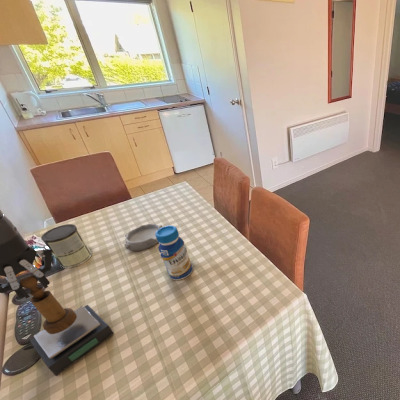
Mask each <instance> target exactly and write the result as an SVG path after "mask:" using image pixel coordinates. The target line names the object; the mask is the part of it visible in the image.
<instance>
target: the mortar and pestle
mask: <svg viewBox="0 0 400 400" xmlns="http://www.w3.org/2000/svg"><path fill="white" fill-rule="evenodd" d="M38 282H39V281H38V279H37V278H36V277H35V275H34V274H29V275H25V276H23V277H21V279H20V280H19V284H20V286H22V288H23V289H27V290H30V291H29V294H30V295H31V296H32V297H31V298H30V303H31V304H32V305H33V306H34V308H35V309H36V310H37V311H38V312H39V313H40V315H41V316H42V317H43V318H44V319H45V320H44V321H43V323H42V327H43V330H44V329H45V330H46V331H47V333H49V334H56V333H59V332H62V331H64V330H65V329H67V328H68V327H70V326H71V325H72V324H73V323H74V322H75V320H76V318H77V315H76V313H75V312H74V311H75V310H74V309H72V308H70V307H63V306H62V305H61V303H60V302H59V300H58V299H57V298H56V297H55V295H54V294H53V293H52V292H51V291H50V290H44V289H43V286H38Z"/></svg>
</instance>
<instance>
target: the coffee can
mask: <svg viewBox="0 0 400 400" xmlns="http://www.w3.org/2000/svg"><path fill="white" fill-rule="evenodd" d="M40 238H41V241H42V242H43V243H44V244H45V246H48V247H49V248H50V249H51V250H52V257H54V258H55V260H56V261H57V263H58V264H59V266H60V267H61V266H62V267H63V268H62V267H61V268H62V269H72V268H75V267H78V266H80V265H82V264H84V263H85V262H87V261H88V260H89V259H91V257H92V256H93V253H92V251H91V250H90V248H89V246H88V245H87V243H86V242H85V240H84V238H83V237H82V235H81V233H80V232H79V230H78V228H77V226H76V225H75V224H73V223H72V224H71V223H69V224H62V225H59V226H56V227H53V228H51V229H48V230H47V231H45V232H44V233H43V234H41V236H40Z"/></svg>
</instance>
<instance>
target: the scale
mask: <svg viewBox="0 0 400 400" xmlns="http://www.w3.org/2000/svg"><path fill="white" fill-rule="evenodd" d="M83 307H84V308H85V309H86V310H87V311H88V312H89V313H90V314H91V315H92V316H93V317H94V318H95V319H96V320H97V321H98V322H99V323H100V324H101V325H100V326H98V327H97V328H96V329H94V330H93V331H91V332H90V333H88V334H87V335H85V336H84V337H82V338H81V339H80V340H78V341H77V342H75V343H74V344H72V345H71V346H69V347H68V348H67V349H65V350H64V351H62V352H61V353H59V354H58V355H56V356H55V357H53V358H52V359H50V358H49V357H48V356H47V354H46V353H45V351H44V350H43V349H42V347H41V346H40V344H39V343H38V342H37V340H36V339H35V337H33V338H31V339H30V340H29V342H30V344H31V345H32V347H33V348H34V350H35V351H36V353H37V354H38V355H39V357H40V358H41V359H42V361H43V362H44V364H45V365H46V367H47V368H48V369H49V371H51V372H52V373H53V374H54V375H55V377H57V376H58V375H60V374H61V373H63V371H65V370H66V369H68V368H69V367H70V366H72V365H73V364H75V363H76V362H77V361H79V360H80V359H81V358H83V357H84V356H86V355H87V354H88V353H89V352H91V351H92V350H93V349H95V348H96V347H98V346H99V345H100V344H102V343H103V342H105V341H106V340H108V339H109V338H110V337H112V336H113V335H114V334H115V332H114V331H113V330H112V328H111V327H110V325H109V324H108V323H107V322H106V321H105V320H104V319H103V318H102V317H101V316H100V315H99V314H98V313H97V312H96V311H95V310H94V309H93V308H92V307H91V306H90V305H89V304H86V305H84V306H83Z"/></svg>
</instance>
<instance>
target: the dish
mask: <svg viewBox="0 0 400 400" xmlns="http://www.w3.org/2000/svg"><path fill="white" fill-rule="evenodd" d="M162 227H163V225H162V224H156V223H147V224H141V225H139V226H137V227H135V228H133V229H131V230H130V231H128V233H125V239H124V240H125V243H124V247H125V248H126V249H129V250H130V251H132V252H133V251H134V252H139V251H144V250H147V249H149V248H152V247H154V246H155V245H156V244H157V243H159V242H158V240H157V238H156V235H155V233H156V231H157V230H159V229H160V228H162Z"/></svg>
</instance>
